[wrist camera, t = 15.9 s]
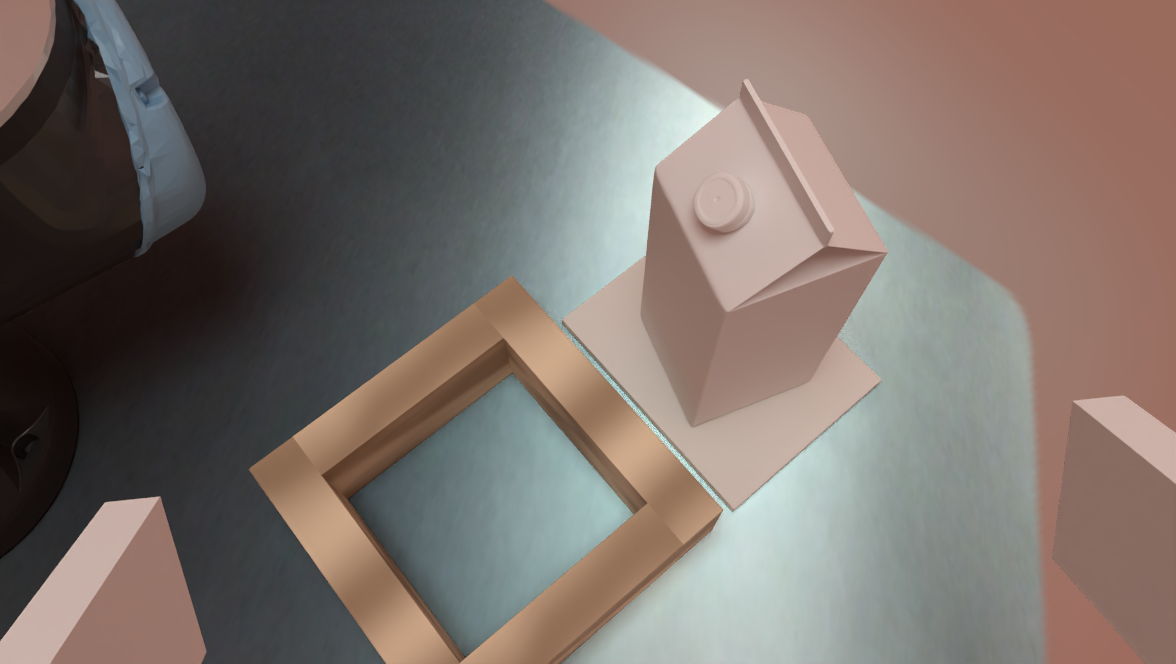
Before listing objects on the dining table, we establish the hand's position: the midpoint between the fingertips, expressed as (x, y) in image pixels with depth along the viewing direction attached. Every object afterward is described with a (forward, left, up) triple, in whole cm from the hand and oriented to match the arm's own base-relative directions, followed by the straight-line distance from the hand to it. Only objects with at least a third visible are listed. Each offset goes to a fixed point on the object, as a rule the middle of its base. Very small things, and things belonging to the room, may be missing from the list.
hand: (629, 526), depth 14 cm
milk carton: (-9, +16, -34) cm, 39 cm away
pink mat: (-9, +15, -35) cm, 39 cm away
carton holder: (-10, 0, -35) cm, 36 cm away
